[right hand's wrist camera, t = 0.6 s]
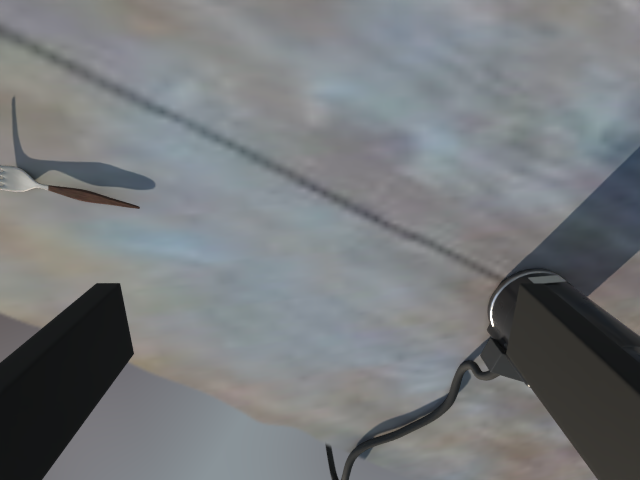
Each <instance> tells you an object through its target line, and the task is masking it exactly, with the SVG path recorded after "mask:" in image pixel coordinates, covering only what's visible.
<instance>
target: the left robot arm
mask: <svg viewBox="0 0 640 480" xmlns="http://www.w3.org/2000/svg"><path fill="white" fill-rule="evenodd" d="M520 283H544V284H545V285H546V286H547V287H548V288H550V289H551V290H552V291H553V292H554V293H556V294H557V295H558V296H559V297H560V298H562V299H563V300H564V301H565V302H567V303H568V304H569V305H570V306H571V307H573V308H574V309H575V310H576V311H577V312H579V313H580V314H581V315H582V316H583V317H585V318H586V319H587V320H588V321H590V322H591V323H592V324H593V325H594V326H596V327H597V328H598V329H599V330H600V331H602V332H603V333H604V334H605V335H606V336H608V337H609V338H610V339H611V340H613V341H614V342H615V343H616V344H617V345H619V346H620V347H621V348H622V349H623V350H625V351H626V352H627V353H628V354H629V355H631V356H632V357H633V358H634V359H636V360H637V361H638V362H639V363H640V336H639V335H637V334H636V333H635V332H633V331H632V330H631V329H629V328H628V327H627V326H625V325H624V324H623V323H621V322H620V321H618V320H617V319H616V318H614V317H613V316H612V315H610V314H609V313H608V312H606V311H605V310H604V309H602V308H601V307H600V306H598V305H597V304H596V303H594V302H593V301H592V300H590V299H589V298H588V297H586V296H585V295H583V294H582V293H581V292H579V291H578V290H577V289H575V288H574V287H573V286H572V285H571V284H569V283H568V282H567V281H566V280H565V279H564V278H562V277H561V276H559V275H558V274H556V273H554V272H552V271H549V270H545V269H529V270H525V271H521V272H518V273H516V274H514V275H512V276H510V277H509V278H507V279H506V280H505V281H503V282H502V283H501V284H500V285H499V286H498V287H497V288H496V290H495V291H494V293H493V294H492V296H491V299H490V301H489V305H488V318H489V321H490V325H489V327H488V329H487V331H488V333H489V334H490V335H491V337H492V338H490V339H489V341H488V343H487V344H486V346H485V348H484V350H483V351H482V353H481V355H480V356H481V358H482V359H483V361H484V363H485V364H486V366H487V367H488V369H489V371H487V372H482V371H481V370H480V368H479V366H478V365H477V364H476V363H475V362H474V361H465V362H464V363H462V364H461V365H460V366H459V368H458V369H457V371H456V374H455V376H454V379H453V382H452V385H451V389H450V392H449V394H448V397H447V398H446V400H445V401H444V402H443V404H441V405H440V406H439V407H438V408H437V409H436V410H434V411H433V412H431V413H430V414H428V415H427V416H425V417H423V418H421V419H419V420H417V421H415V422H413V423H411V424H409V425H407V426H405V427H403V428H401V429H399V430H396V431H394V432H391V433H388V434H385V435H382V436H379V437H376V438H373V439H370V440H368V441H366V442H364V443H362V444H360V445H359V446H357V447H356V448H355V449H354V450H353V451H352V452H351V453H350V455H349V456H348V458H347V461H346V463H345V466H344V470H343V475H342V478H341V480H349V476H350V472H351V468H352V466H353V463H354V461H355V459H356V458H357V457H358V456H359V455H360V454H361V453H362V452H364V451H365V450H367V449H369V448H371V447H374V446H377V445H380V444H383V443H386V442H389V441H392V440H395V439H398V438H400V437H402V436H404V435H406V434H408V433H410V432H413V431H415V430H417V429H419V428H421V427H423V426H425V425H427V424H429V423H431V422H432V421H434V420H436V419H437V418H439V417H440V416H441V415H443V414H444V413H445V412H446V411H447V410H448V409H449V408H450V407H451V406H452V405H453V403H454V401H455V399H456V397H457V394H458V391H459V387H460V384H461V380H462V377H463V374H464V373H465V371H466V370H468V369H471V370H472V372H473V374H474V375H475V376H476V377H477V378H478V379H480V380H492V379H494V378H496V377H498V376H499V375H502V376H505V377H508V378H512V379H515V380H519V381H522V382H524V383H525V384H526V385H527V386H528V387H530V386H529V384H528V383H527V382H526V380H525V379H524V378H523V376H522V375H521V373H520V372H519V371H518V369H517V368H516V367H515V365H514V364H513V363H512V361H511V360H510V358H509V357H508V356H507V354H506V352H507V347H508V342H509V337H510V332H511V326H512V321H513V316H514V311H515V306H516V301H517V296H518V291H519V286H520ZM530 388H531V387H530ZM325 446H326V452H327V458H328V464H329V470H330V475H331V479H332V480H339V479H338V476H337V473H336V468H335V464H334V458H333V453H332V447H331V446H329V445H327V444H325Z"/></svg>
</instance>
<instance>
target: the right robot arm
mask: <svg viewBox="0 0 640 480" xmlns="http://www.w3.org/2000/svg"><path fill="white" fill-rule="evenodd" d="M133 354H134V352H133V347H132V342H131V337H130V332H129V326H128V321H127V316H126V311H125V306H124V301H123V296H122V291H121V286H120V283H96V284H95V285H94V286H93V287H92V288H90V289H89V290H88V291H87V292H86V293H84V294H83V295H82V296H81V297H80V298H78V299H77V300H76V301H75V302H73V303H72V304H71V305H70V306H69V307H67V308H66V309H65V310H64V311H63V312H61V313H60V314H59V315H58V316H57V317H55V318H54V319H53V320H52V321H50V322H49V323H48V324H47V325H46V326H44V327H43V328H42V329H41V330H40V331H38V332H37V333H36V334H35V335H34V336H32V337H31V338H30V339H29V340H27V341H26V342H25V343H24V344H23V345H21V346H20V347H19V348H18V349H17V350H15V351H14V352H13V353H12V354H11V355H9V356H8V357H7V358H6V359H5V360H3V361H2V362H1V363H0V480H42V479H43V478H44V476H45V475H46V473H47V472H48V471H49V469H50V468H51V467H52V465H53V464H54V463H55V461H56V460H57V458H58V457H59V456H60V454H61V453H62V452H63V450H64V449H65V447H66V446H67V445H68V443H69V442H70V441H71V439H72V438H73V436H74V435H75V434H76V432H77V431H78V430H79V428H80V427H81V426H82V424H83V423H84V421H85V420H86V419H87V417H88V416H89V415H90V413H91V412H92V410H93V409H94V408H95V406H96V405H97V404H98V402H99V401H100V399H101V398H102V397H103V395H104V394H105V393H106V391H107V390H108V389H109V387H110V386H111V384H112V383H113V382H114V380H115V379H116V378H117V376H118V375H119V373H120V372H121V371H122V369H123V368H124V367H125V365H126V364H127V363H128V361H129V360H130V358H131V357H132V356H133ZM506 354H507V356H508V357H509V358H510V360H511V361H512V363H513V364H514V365H515V367H516V368H517V369H518V371H519V372H520V373H521V375H522V376H523V378H524V379H525V380H526V382H527V383H528V384H529V386H530V387H531V389H532V390H533V391H534V393H535V394H536V395H537V397H538V398H539V400H540V401H541V402H542V404H543V405H544V406H545V408H546V409H547V410H548V412H549V413H550V415H551V416H552V417H553V419H554V420H555V421H556V423H557V424H558V426H559V427H560V428H561V430H562V431H563V432H564V434H565V435H566V437H567V438H568V439H569V441H570V442H571V443H572V445H573V446H574V447H575V449H576V450H577V452H578V453H579V454H580V456H581V457H582V458H583V460H584V461H585V463H586V464H587V465H588V467H589V468H590V469H591V471H592V472H593V473H594V475H595V476H596V478H597V479H598V480H640V363H639V362H638V361H637V360H636V359H634V358H633V357H632V356H631V355H629V354H628V353H627V352H626V351H625V350H623V349H622V348H621V347H620V346H619V345H617V344H616V343H615V342H614V341H613V340H611V339H610V338H609V337H608V336H606V335H605V334H604V333H603V332H602V331H600V330H599V329H598V328H597V327H596V326H594V325H593V324H592V323H591V322H590V321H588V320H587V319H586V318H585V317H583V316H582V315H581V314H580V313H579V312H577V311H576V310H575V309H574V308H573V307H571V306H570V305H569V304H568V303H567V302H565V301H564V300H563V299H562V298H560V297H559V296H558V295H557V294H556V293H554V292H553V291H552V290H551V289H550V288H548V287H547V286H546V285H545V284H544V283H520V286H519V291H518V296H517V301H516V306H515V311H514V316H513V321H512V326H511V332H510V337H509V342H508V347H507V352H506Z"/></svg>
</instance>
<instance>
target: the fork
mask: <svg viewBox="0 0 640 480" xmlns="http://www.w3.org/2000/svg"><path fill="white" fill-rule="evenodd" d="M0 169H1V170H3V172H0V176H2V177H4V178H3V179H0V183H3V184H4V185H3V186H0V190H7V191H14V192H23V191H27V190H30V189H33V188H42V189H46V190H49V191H52V192H55V193H58V194H61V195H64V196H67V197H70V198H73V199H77V200H80V201H85V202H92V203H100V204H108V205H115V206H122V207H129V208H137V209H140V207H139V206H136V205H133V204H129V203H126V202H123V201H119V200H116V199H113V198H109V197H106V196H103V195H100V194H97V193H94V192H91V191H87V190H82V189H75V188H67V187H58V186H50V185H43V184H40V183H38V182H36V181H35V180H34V179H33V178H32V177H31V176H29V175H28V174H27V173H26V172H25V171H23V170H22V169H20V168H17V167H13V166H0Z"/></svg>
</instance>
